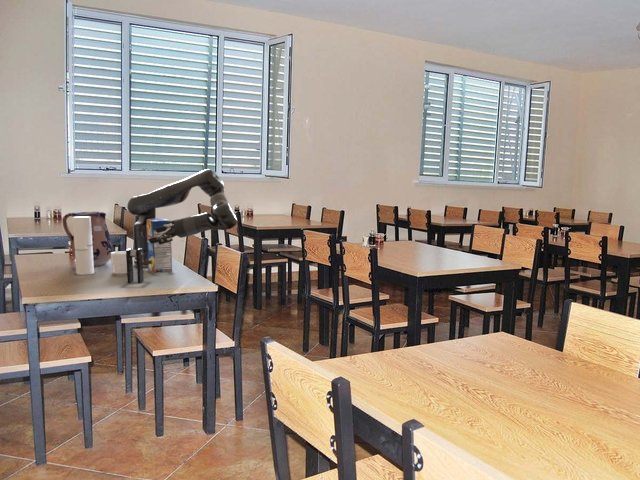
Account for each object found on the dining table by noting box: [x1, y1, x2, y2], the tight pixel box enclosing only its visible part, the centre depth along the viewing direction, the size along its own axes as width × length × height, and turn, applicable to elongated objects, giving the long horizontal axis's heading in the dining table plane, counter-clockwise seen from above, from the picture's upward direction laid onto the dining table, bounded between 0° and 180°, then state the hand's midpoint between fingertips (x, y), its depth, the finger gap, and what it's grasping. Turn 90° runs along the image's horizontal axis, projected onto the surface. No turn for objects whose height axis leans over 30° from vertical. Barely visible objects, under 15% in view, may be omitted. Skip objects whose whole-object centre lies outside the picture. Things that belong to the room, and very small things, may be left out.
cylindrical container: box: [72, 216, 95, 276], centre depth 286 cm, size 7×7×25 cm
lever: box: [130, 249, 152, 265], centre depth 268 cm, size 14×7×2 cm, turn 3°
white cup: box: [110, 250, 127, 275], centre depth 285 cm, size 8×8×10 cm
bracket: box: [125, 248, 145, 284], centre depth 264 cm, size 10×8×15 cm
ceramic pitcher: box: [62, 211, 114, 267], centre depth 306 cm, size 18×21×25 cm
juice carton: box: [146, 217, 173, 274], centre depth 290 cm, size 12×8×24 cm, turn 34°
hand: (153, 235), depth 268 cm, fingers open, 8 cm apart
